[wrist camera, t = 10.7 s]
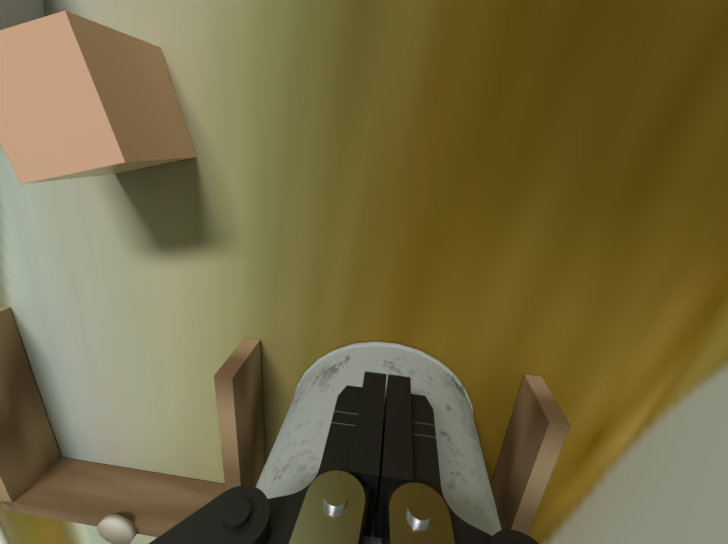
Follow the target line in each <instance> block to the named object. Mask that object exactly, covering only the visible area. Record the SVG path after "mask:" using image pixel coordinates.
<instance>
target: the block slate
mask: <svg viewBox="0 0 728 544" xmlns="http://www.w3.org/2000/svg"><path fill="white" fill-rule="evenodd" d="M42 17H45V14H44V3H43V0H0V30H2V29H6V28H9V27H12V26H16V25H19V24H22V23H26V22H29V21H32V20H35V19H39V18H42Z"/></svg>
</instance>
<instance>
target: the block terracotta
mask: <svg viewBox="0 0 728 544" xmlns="http://www.w3.org/2000/svg"><path fill="white" fill-rule="evenodd" d="M0 144H1V146H2V148H3V150H4V152H5V154H6V156H7V158H8V160H9V162H10V164H11V166H12V168H13V170H14V172H15V174H16V176H17V177H18V179H19V181H20V183H21V184H27V183H36V182H45V181H54V180H63V179H72V178H81V177H90V176H99V175H108V174H116V173H121V172H126V171H131V170H136V169H141V168H145V167H150V166H155V165H160V164H165V163H170V162H175V161H180V160H185V159H190V158H194V157H196V154H195V151H194V148H193V145H192V142H191V139H190V136H189V133H188V130H187V127H186V124H185V121H184V118H183V115H182V112H181V109H180V106H179V103H178V99H177V96H176V93H175V90H174V87H173V84H172V81H171V78H170V75H169V72H168V69H167V66H166V63H165V60H164V57H163V54H162V51H161V48H160V47H158V46H155V45H153V44H150V43H147V42H145V41H142V40H140V39H137V38H134V37H132V36H129V35H127V34H124V33H122V32H119V31H116V30H114V29H111V28H109V27H106V26H103V25H101V24H98V23H96V22H93V21H91V20H88V19H85V18H83V17H80V16H78V15H75V14H72V13H70V12H67V11H62V12H59V13H55V14H52V15H49V16H45V17H42V18H39V19H35V20H32V21H29V22H26V23H22V24H19V25H16V26H12V27H9V28H6V29H2V30H0Z"/></svg>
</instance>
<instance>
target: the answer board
mask: <svg viewBox="0 0 728 544" xmlns="http://www.w3.org/2000/svg"><path fill="white" fill-rule="evenodd" d="M214 381H215V390H216V400H217V409H218V419H219V429H220V438H221V448H222V458H223V467H224V477H225V484H222V483H215V482H209V481H203V480H197V479H191V478H185V477H179V476H173V475H166V474H160V473H154V472H148V471H142V470H136V469H130V468H124V467H117V466H111V465H105V464H99V463H93V462H87V461H81V460H75V459H69V458H62V457H61V455H60V452H59V450H58V447H57V444H56V441H55V438H54V435H53V432H52V429H51V426H50V423H49V420H48V417H47V414H46V412H45V409H44V406H43V403H42V400H41V397H40V394H39V391H38V388H37V385H36V382H35V379H34V377H33V374H32V371H31V368H30V365H29V362H28V359H27V356H26V353H25V350H24V347H23V344H22V341H21V339H20V336H19V333H18V330H17V327H16V324H15V321H14V318H13V315H12V312H11V309H10V307H2V306H0V503H1V505H2V507H3V510H8V511H13V512H19V513H24V514H30V515H36V516H41V517H47V518H53V519H58V520H64V521H69V522H75V523H81V524H86V525H92V526H97V530H98V533H99V534H100V536H101V537H102V538H103V539H105V540H106V541H108V542H110V543H112V544H130V543H131V541H132V540H133V538H134V537H135V536H136V534H142V535H148V536H154V537H159V536H161V535H162V534H164V533H165V532H167V531H168V530H169V529H171V528H172V527H174V526H175V525H177V524H178V523H180V522H181V521H182V520H184V519H185V518H187V517H188V516H190V515H191V514H193V513H194V512H196V511H197V510H198V509H200V508H201V507H203V506H204V505H206V504H207V503H209V502H210V501H212V500H213V499H214V498H216V497H217V496H219V495H220V494H222V493H223V492H225V491H227V490H229V489H231V488H233V487H237V486H242V485H249V486H254V487H256V485H257V483H258V480H259V478H260V476H261V473H262V471H263V469H264V466H265V449H264V424H263V400H262V376H261V351H260V340H256V339H249V338H244V340H243V341H242V342H241V343H240V344H239V346H238V347H237V348H236V349H235V351H234V352H233V353H232V354H231V356H230V357H229V358H228V359H227V361H226V362H225V363H224V364H223V365H222V367H221V368H220V369H219V370H218V372H217V373H216V374H215V375H214ZM569 428H570V424H569V422H568V421H567V419H566V417H565V416H564V414H563V412H562V410H561V409H560V407H559V405H558V404H557V402H556V400H555V399H554V397H553V395H552V393H551V392H550V390H549V388H548V387H547V385H546V383H545V381H544V380H543V378H542V377H541V376H533V375H526V374H524V377H523V380H522V384H521V387H520V390H519V394H518V397H517V400H516V403H515V407H514V410H513V413H512V416H511V420H510V423H509V426H508V430H507V433H506V436H505V439H504V443H503V446H502V449H501V452H500V456H499V459H498V462H497V466H496V469H495V472H494V475H493V479H492V482H491V485H490V486H491V490H492V494H493V498H494V502H495V506H496V510H497V514H498V518H499V522H500V526H501V530H505V529H511V530H516V531H520V532H522V533H524V534H526V535H528V532H529V530H530V527H531V525H532V522H533V520H534V517H535V514H536V512H537V509H538V507H539V504H540V502H541V499H542V497H543V494H544V492H545V489H546V486H547V484H548V481H549V479H550V476H551V474H552V471H553V469H554V466H555V464H556V461H557V458H558V456H559V453H560V451H561V448H562V446H563V443H564V441H565V438H566V436H567V433H568V430H569Z"/></svg>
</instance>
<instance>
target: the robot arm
mask: <svg viewBox="0 0 728 544" xmlns="http://www.w3.org/2000/svg"><path fill="white" fill-rule="evenodd" d="M386 376H387V374H383V373H375V372H368V371H365V374H364V380H363V386H362V387H356V386H349V385H347V386H346V387H345V388H344V389H343V390H342V392H341V393H340V394H339V395H338V397H337V401H336V405H335V409H334V413H333V417H332V421H331V425H330V429H329V433H328V437H327V441H326V445H325V448H324V452H323V456H322V460H321V464H320V468H319V471H318V473H317V475H316V477H315V478H314V480H313V481H312V482H311V483H310V484H309V485H308V486H307V487H305V488H304V489H302V490H301V491H299V492H296V493H294V494H290V495H286V496H281V497H275V498H270V499H267V497H266V495H265V494H264V493H263V492H262V491H261V490H260V489H258V488H256V487H254V486H249V485H242V486H237V487H233V488H231V489H229V490H227V491H225V492H223V493H222V494H220V495H219V496H217V497H216V498H214V499H213V500H212V501H210V502H209V503H207V504H206V505H204V506H203V507H201V508H200V509H198V510H197V511H196V512H194V513H193V514H191V515H190V516H188V517H187V518H185V519H184V520H182V521H181V522H180V523H178V524H177V525H175V526H174V527H172V528H171V529H169V530H168V531H167V532H165V533H164V534H162V535H161V536H159V537H158V538H156V539H155V540H153V541H152V542H151V543H149V544H363V542H364V536H369V537H371V532H372V525H373V517H374V510H375V502H376V510H375V523H374V536H373V537H376V538H382V542H381V544H539V543H538V542H536V541H535V540H534V539H533V538H531V537H530V536H528V535H526V534H524V533H522V532H520V531H516V530H511V529H505V530H501V531H498V532H497V533H495V534H494V535H493V536H491V535H489V534H488V533H486V532H484V531H482V530H480V529H478V528H476V527H474V526H472V525H470V524H468V523H467V522H465V521H464V520H462V519H461V518H460V517H458V516H457V515H456V514H455V513H454V512H453V510H452V509H451V508H450V507H449V505H448V504H447V502H446V500H445V498H444V496H443V493H442V488H441V480H440V470H439V461H438V451H437V441H436V431H435V421H434V411H433V408H432V406H431V404H430V403H429V401H428V399H427V398H426V396H423V395H416V394H411V379H410V377H406V376H398V375H391V374H388V380H387V388H386ZM385 389H386V396H385ZM384 403H385V404H384ZM376 495H377V497H376Z"/></svg>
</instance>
